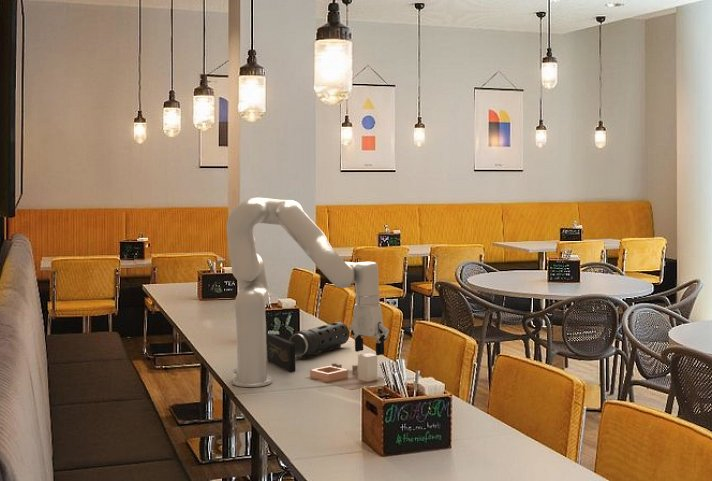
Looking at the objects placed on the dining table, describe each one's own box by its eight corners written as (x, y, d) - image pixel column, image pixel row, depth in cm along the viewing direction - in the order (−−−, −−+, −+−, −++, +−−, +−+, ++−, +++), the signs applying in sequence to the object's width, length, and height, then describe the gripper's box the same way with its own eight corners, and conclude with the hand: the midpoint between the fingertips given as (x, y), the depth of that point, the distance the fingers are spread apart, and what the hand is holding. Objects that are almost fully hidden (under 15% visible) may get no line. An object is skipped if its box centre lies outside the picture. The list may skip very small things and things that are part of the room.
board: (304, 380, 292) (304, 368, 292) (344, 371, 304) (344, 360, 304) (352, 393, 275) (351, 380, 275) (392, 383, 288) (392, 370, 287)
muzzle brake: (350, 348, 345) (350, 321, 344) (308, 362, 321) (307, 333, 320) (329, 346, 350) (329, 319, 349) (286, 359, 326) (286, 331, 325)
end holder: (310, 377, 292) (310, 369, 292) (330, 372, 298) (330, 365, 298) (327, 381, 286) (327, 374, 286) (348, 377, 292) (348, 369, 292)
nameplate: (267, 361, 323) (266, 334, 322) (271, 360, 324) (271, 333, 323) (290, 372, 304) (289, 343, 303) (295, 372, 305) (295, 343, 304)
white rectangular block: (358, 379, 289) (358, 354, 288) (368, 377, 292) (367, 352, 291) (367, 381, 286) (367, 356, 285) (377, 379, 289) (377, 354, 288)
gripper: (341, 299, 290) (343, 351, 292) (378, 304, 278) (380, 358, 279) (357, 296, 296) (359, 347, 297) (395, 301, 283) (396, 354, 284)
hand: (369, 352), depth 288 cm, fingers open, 9 cm apart
